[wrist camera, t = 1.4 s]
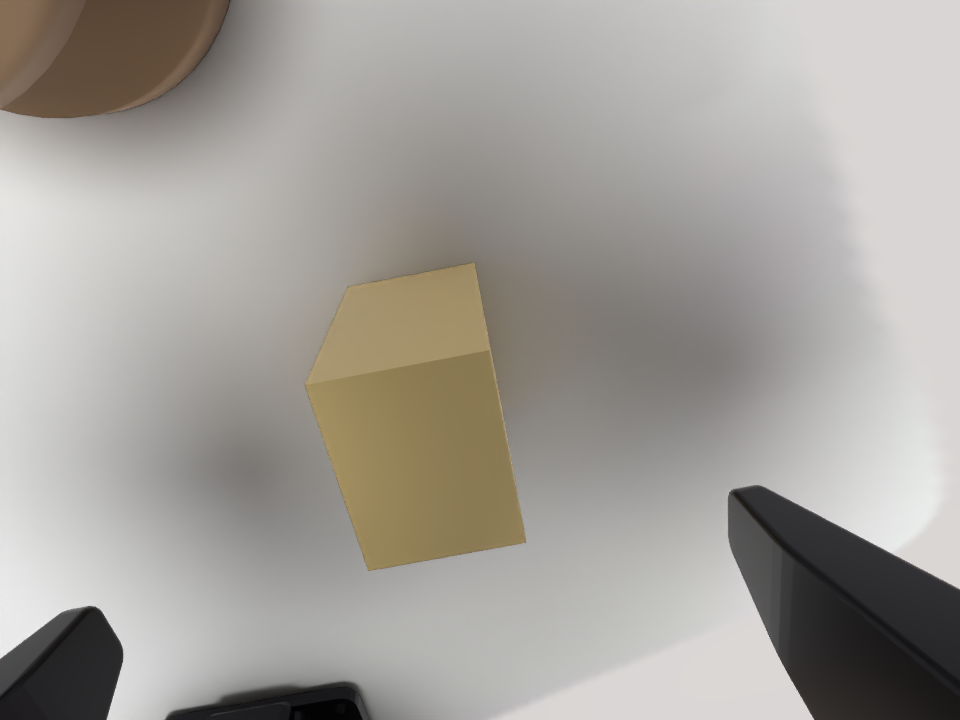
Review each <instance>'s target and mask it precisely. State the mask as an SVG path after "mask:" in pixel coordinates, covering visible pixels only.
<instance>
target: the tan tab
mask: <svg viewBox="0 0 960 720" xmlns="http://www.w3.org/2000/svg"><path fill="white" fill-rule="evenodd" d="M305 388H306V390H307V393H308V396H309V399H310V402H311V405H312V408H313V411H314V414H315V417H316V420H317V423H318V425H319V428H320V431H321V434H322V437H323V440H324V443H325V446H326V449H327V452H328V455H329V457H330V460H331V463H332V466H333V469H334V472H335V475H336V478H337V481H338V484H339V487H340V490H341V492H342V495H343V498H344V501H345V504H346V507H347V510H348V513H349V516H350V519H351V522H352V525H353V527H354V530H355V533H356V536H357V539H358V542H359V545H360V548H361V551H362V554H363V557H364V559H365V562H366V565H367V568H368V571H372V570H377V569H383V568H388V567H394V566H399V565H405V564H410V563H416V562H421V561H427V560H433V559H438V558H444V557H449V556H455V555H460V554H466V553H471V552H477V551H483V550H488V549H494V548H499V547H505V546H510V545H516V544H521V543H526V538H525V533H524V527H523V522H522V516H521V511H520V505H519V499H518V494H517V488H516V483H515V477H514V471H513V466H512V460H511V455H510V449H509V443H508V438H507V432H506V427H505V421H504V416H503V410H502V405H501V399H500V394H499V389H498V384H497V379H496V373H495V368H494V363H493V358H492V352H491V347H490V342H489V337H488V331H487V326H486V321H485V316H484V310H483V305H482V300H481V295H480V289H479V284H478V279H477V274H476V268H475V263H470V264H465V265H459V266H454V267H449V268H444V269H439V270H433V271H428V272H423V273H418V274H413V275H407V276H402V277H397V278H392V279H386V280H381V281H376V282H371V283H366V284H360V285H355V286H350V287H347V290H346V292H345V294H344V296H343V299H342V301H341V303H340V306H339V308H338V310H337V312H336V315H335V317H334V319H333V322H332V324H331V326H330V328H329V331H328V333H327V335H326V337H325V340H324V342H323V344H322V347H321V349H320V351H319V353H318V356H317V358H316V360H315V363H314V365H313V367H312V369H311V372H310V374H309V376H308V378H307V381H306V383H305Z"/></svg>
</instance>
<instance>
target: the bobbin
mask: <svg viewBox="0 0 960 720" xmlns="http://www.w3.org/2000/svg"><path fill="white" fill-rule="evenodd" d="M229 2H230V0H0V109H1V110H5V111H9V112H12V113H16V114H22V115H28V116H35V117H42V118H74V117H82V116H89V115H97V114H105V113H113V112H120V111H123V110H127V109H130V108H134V107H137V106H141V105H143V104H145V103H147V102H149V101H151V100H154V99H156V98H158V97H160V96H161V95H163V94H164V93H166V92H167V91H169V90H170V89H172V88H173V87H175V86H176V85H178V84H179V83H180V82H181V81H182V80H183V79H184V78H185V77H186V76H187V75H188V74H190V73H191V72H192V71H193V70H194V69H195V67H196V66H197V65H198V63H199V62H200V61H201V60H202V58H203V57H204V56H205V54H206V53H207V52H208V50H209V48H210V47H211V45H212V43H213V41H214V39H215V38H216V36H217V34H218V32H219V30H220V28H221V25H222V22H223V20H224V17H225V14H226V12H227V9H228V6H229Z"/></svg>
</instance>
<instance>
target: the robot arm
mask: <svg viewBox="0 0 960 720" xmlns="http://www.w3.org/2000/svg"><path fill="white" fill-rule="evenodd" d="M728 537H729V543H730V547H731V550H732V553H733V555H734V558H735V560H736V562H737V564H738V567H739V569H740V571H741V574H742V576H743V578H744V580H745V583H746V585H747V587H748V589H749V592H750V594H751V596H752V598H753V601H754V603H755V605H756V608H757V610H758V612H759V614H760V617H761V619H762V621H763V623H764V625H765V628H766V630H767V632H768V635H769V637H770V639H771V641H772V643H773V646H774V648H775V650H776V652H777V654H778V656H779V658H780V660H781V662H782V664H783V665H784V667H785V669H786V671H787V673H788V675H789V676H790V678H791V680H792V682H793V683H794V685H795V687H796V689H797V690H798V692H799V694H800V696H801V697H802V699H803V701H804V703H805V704H806V706H807V708H808V710H809V711H810V713H811V715H812V717H813V718H814V720H960V589H958V588H956V587H954V586H953V585H951V584H949V583H947V582H945V581H943V580H941V579H939V578H937V577H935V576H933V575H932V574H929V573H928V572H926V571H924V570H922V569H920V568H918V567H916V566H914V565H912V564H910V563H909V562H907V561H905V560H902V559H901V558H899V557H897V556H895V555H893V554H891V553H889V552H888V551H886V550H884V549H882V548H880V547H878V546H876V545H874V544H872V543H870V542H868V541H866V540H865V539H863V538H861V537H859V536H857V535H855V534H853V533H851V532H849V531H847V530H845V529H844V528H842V527H840V526H838V525H836V524H834V523H832V522H830V521H828V520H826V519H824V518H822V517H821V516H819V515H817V514H815V513H813V512H811V511H809V510H807V509H805V508H803V507H801V506H800V505H798V504H796V503H794V502H792V501H790V500H788V499H786V498H784V497H782V496H780V495H778V494H777V493H775V492H773V491H771V490H769V489H767V488H765V487H763V486H759V485H754V486H749V487H743V488H738V489H733V490H732V491H731V492H730V493H729V496H728ZM122 663H123V648H122V645H121V643H120V641H119V639H118V638H117V636H116V634H115V633H114V631H113V629H112V628H111V626H110V624H109V623H108V621H107V619H106V618H105V616H104V614H103V613H102V612H101V610H100V609H98V608H96V607H94V606H87V607H81V608H76V609H70V610H67V611H64V612H62V613H60V614H59V615H57V616H56V617H55V618H53V619H52V620H51V621H49V622H48V623H47V624H45V625H44V626H43V627H42V628H40V629H39V630H38V631H36V632H35V633H34V634H32V635H31V636H30V637H28V638H27V639H26V640H24V641H23V642H22V643H21V644H19V645H18V646H17V647H15V648H14V649H13V650H11V651H10V652H9V653H7V654H6V655H5V656H3V657H2V658H1V659H0V720H107V716H108V713H109V709H110V706H111V702H112V699H113V695H114V692H115V688H116V684H117V681H118V677H119V674H120V670H121V667H122ZM165 720H369V719H368V716H367V714H366V711H365V709H364V706H363V704H362V701H361V699H360V696H359V694H358V693H357V691H355V690H354V689H352V688H348V687H337V688H331V689H326V690H320V691H314V692H308V693H303V694H297V695H291V696H286V697H280V698H274V699H268V700H263V701H257V702H251V703H245V704H240V705H234V706H228V707H222V708H217V709H211V710H205V711H200V712H194V713H188V714H182V715H177V716H171V717H168V718H166V719H165Z"/></svg>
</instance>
